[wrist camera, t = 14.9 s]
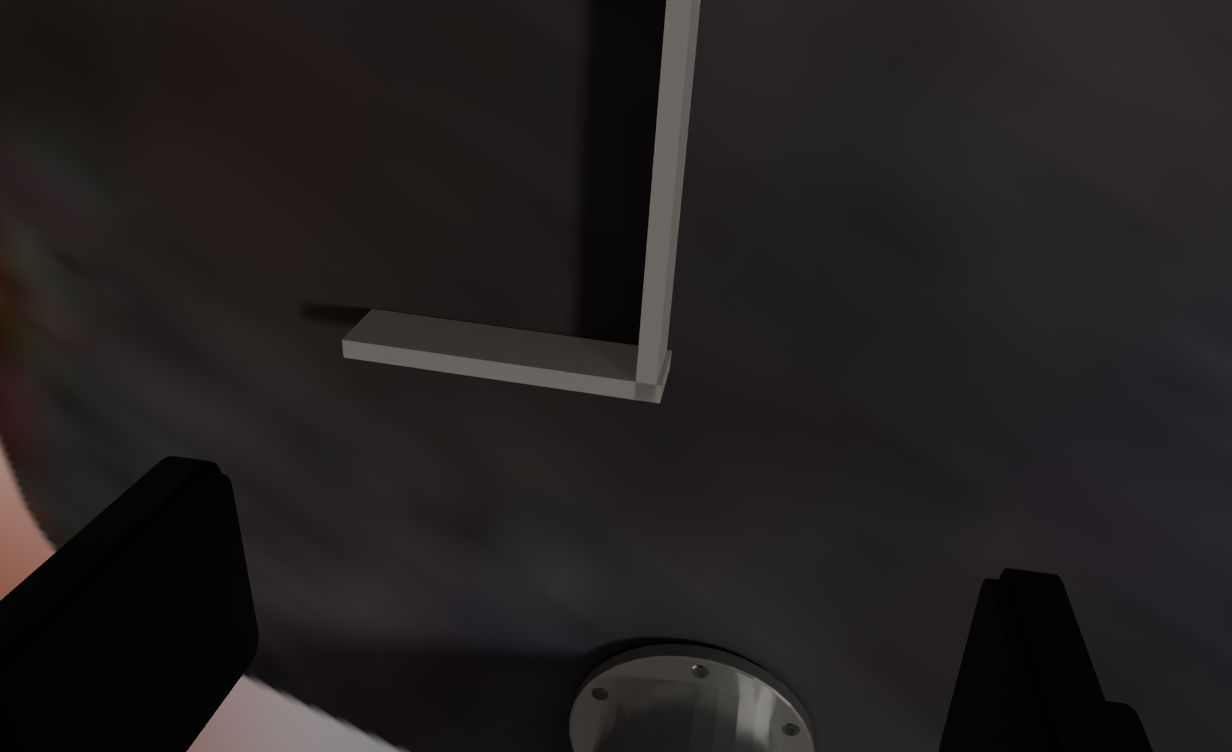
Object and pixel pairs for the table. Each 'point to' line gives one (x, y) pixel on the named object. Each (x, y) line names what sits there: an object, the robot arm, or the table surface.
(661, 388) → the frame
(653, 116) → the table surface
